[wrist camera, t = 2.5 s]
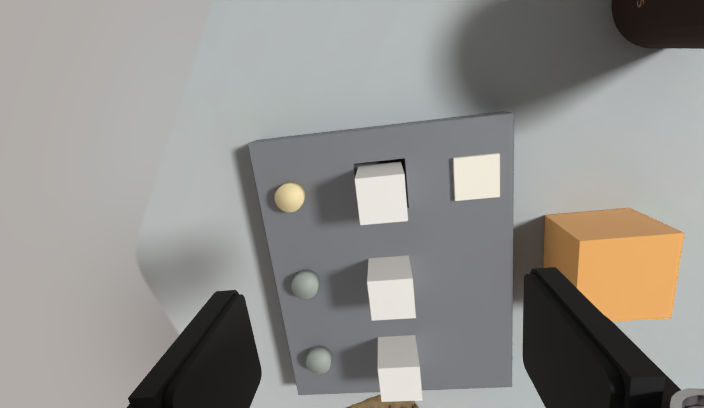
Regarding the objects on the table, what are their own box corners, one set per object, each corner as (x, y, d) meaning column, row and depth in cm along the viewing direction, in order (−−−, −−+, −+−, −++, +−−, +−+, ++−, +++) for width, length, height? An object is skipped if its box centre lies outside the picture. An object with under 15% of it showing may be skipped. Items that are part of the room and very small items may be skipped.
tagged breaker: (400, 161, 25) (404, 174, 22) (404, 202, 26) (408, 221, 22) (358, 166, 26) (354, 178, 22) (363, 206, 27) (360, 225, 23)
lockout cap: (630, 207, 27) (684, 233, 22) (622, 280, 28) (671, 318, 24) (545, 215, 27) (579, 241, 23) (542, 285, 29) (574, 323, 24)
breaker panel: (504, 111, 25) (536, 116, 20) (503, 369, 32) (528, 424, 26) (257, 140, 27) (227, 151, 22) (303, 377, 33) (288, 430, 28)
